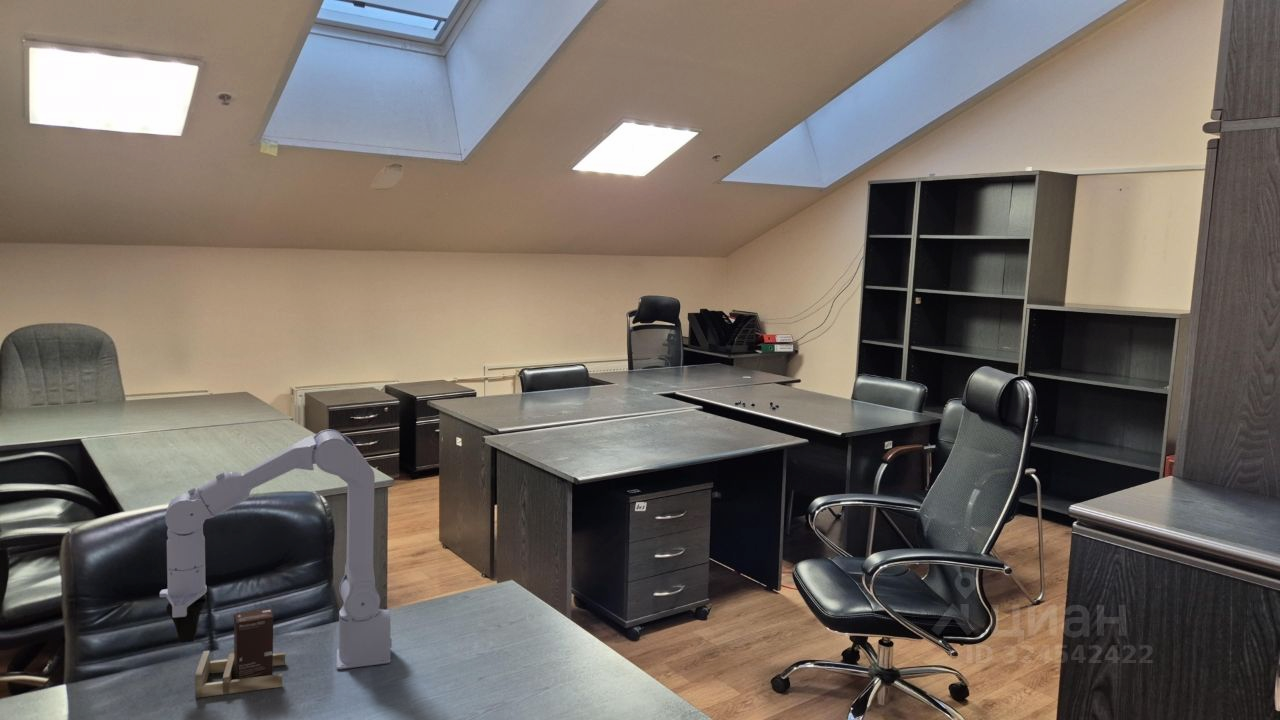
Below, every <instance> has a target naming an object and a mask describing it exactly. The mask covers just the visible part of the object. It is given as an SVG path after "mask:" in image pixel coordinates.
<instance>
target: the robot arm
mask: <svg viewBox="0 0 1280 720" xmlns="http://www.w3.org/2000/svg"><path fill="white" fill-rule="evenodd" d="M315 464H316V466H317V468H319V469H320V470H321V471H323V472H324V473H327V474H330V475H334V476H337V477H339V479H341V480H342V481H344V483H346V484H347V491H346V492H347V494H346V495H347V497H346V500H347V503H346V504H347V506H346V509H347V510H346V557H345V558H346V562H345V565H344V575H343V577H342V579H341V580H340V583H339V587H338V592H339V595H340V597H341V598H342V601H343V604H342V607H341V608H340V610H339V611H338V648H336V669H337V670H343V669H351V668H353V669H355V668H359V667H360V668H361V667H362V668H363V667H368V666H377V665H384V664H389V663H391V648H392V647H393V646H392V645H393V643H392V637H391V612H390V611H391V610H390V609H381V608H380V604H381V597H380V594H379V592H378V591H377V588H376V578H375V577H376V576H375V570H374V531H375V530H374V529H375V528H374V527H375V525H374V522H375V477H376V476H375V472H374V469H373V468H372V466H371V465H370V463H369V462H368V461H367V460H366V458H365V457H364V456H363V455H362V453H361V452H360V450H359V449H358V448H357V446H356V445H355V444H354V442H353V440H352V439H351V438H349V437H348V436H346V435H344V434H343V433H342V432H340V431H338V430H337V429H329V428H328V429H324V430H323V429H322V430H320V431H319V432H318V433H316V434H315V435H313V434H312V435H309V436H306V437H305V438H302V439H301V440H299V441H297V442H296V443H295V442H294V444H291V445H289V446H288V447H286V448H284V449H283V450H281V451H279V452H278V453H276V454H273V455H272V456H270V457H269V458H267V459H265V460H263V461H261V462H260V463H258V464H256V465H254V466H253V467H251V468H249V469H248V470H246V471H243V472H238V471H234V470H233V471H232V470H230V471H228V472H227V473H225V472H224V471H220V472H219V473H216V474H215V479H213V480H212V481H209V482H207V483H205V484H203V485H201V486H199V487H197V488H195V487H194V486H193V487H191V488H189V489H188V491H187V493H181V494H178V495H177V496H175V497H174V498H172V499H171V501H170V502H169V503H168V506H167V509H166V513H165V516H164V522H165V525H166V526H167V531H166V536H167V540H166V573H167V575H166V577H167V578H166V579H167V581H166V583H167V588H165V589H161V590H160V591H159V598H166V599H167V601H168V602H169V603H167V605H166V613H167V615H169V616H170V618H171V620H172V621H173V624H174V627H175V630H176V634H177V638H178V640H179V642H180V643H181V644H182V643H191V642H192V643H193V642H194V641H195V639H196V635H197V631H198V625H199V620H200V615H201V612H202V610H203V608H204V606H205V604H206V601H207V599H208V595H207V594H206V593H207V592H208V587H207V584H206V537H205V535H204V529H203V528H204V523H205V521H206V520H209V519H212V518H215V517H216V516H219V515H221V514H222V513H224V512H226V511H229V510H230V509H232V508H234V507H235V506H237V505H240V504H241V503H243V502H245V501H246V500H248V499H249V497H250V494H251V491H252V490H253V489H255V488H257V487H260V486H261V485H264V484H265V483H267V482H269V481H272V480H274V479H277V478H278V477H280V476H283V475H286V473H288V472H291V471H294V470H295V469H297V470H298V469H299V470H307V471H314V470H315V469H314V465H315Z"/></svg>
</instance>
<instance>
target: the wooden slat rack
mask: <svg viewBox="0 0 1280 720" xmlns="http://www.w3.org/2000/svg"><path fill="white" fill-rule="evenodd" d="M210 651H211V650H203V652H202V653H201V656H200V660H199V662H198V665H197V668H196V671H195V673H194V674H195V675H194V691H195V693H194V694H195V697H194V698H195V699H197V698H198V699H200V698H205V697H212V696H214V697H215V696H219V695H228V694H236V693H244V692H251V691H252V692H253V691H259V690H260V691H261V690H268V689H273V688H274V689H275V688H282V687H283V673H278V674H273V675H268V676H260V677H252V678H244V679H236V680H235V679H234V652H231V653H229V654H228V658H225V659H217V660H215V659H214V660H211V653H210ZM284 665H286V652H279V653H273V667H276V666H277V667H278V666H284ZM209 673H212V674H216V673H217V674H219V673H223V674H222V675H223V676H222V680H220V681H213V682H208V680H209V676H210V674H209Z"/></svg>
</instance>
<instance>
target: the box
mask: <svg viewBox="0 0 1280 720" xmlns="http://www.w3.org/2000/svg"><path fill="white" fill-rule="evenodd" d="M233 629H234V630H233V633H234V634H233V643H234V645H233V653H234V678H233V680H236V679H244V678H252V677H260V676H268V675H274V674H273V672H274V671H273V670H274V666H273V654H274V615H273V613H272V609H271V608H270V607H269V608H261V609H253V610H247V611H244V612H238V613H237V612H236V613H234V614H233Z"/></svg>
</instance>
